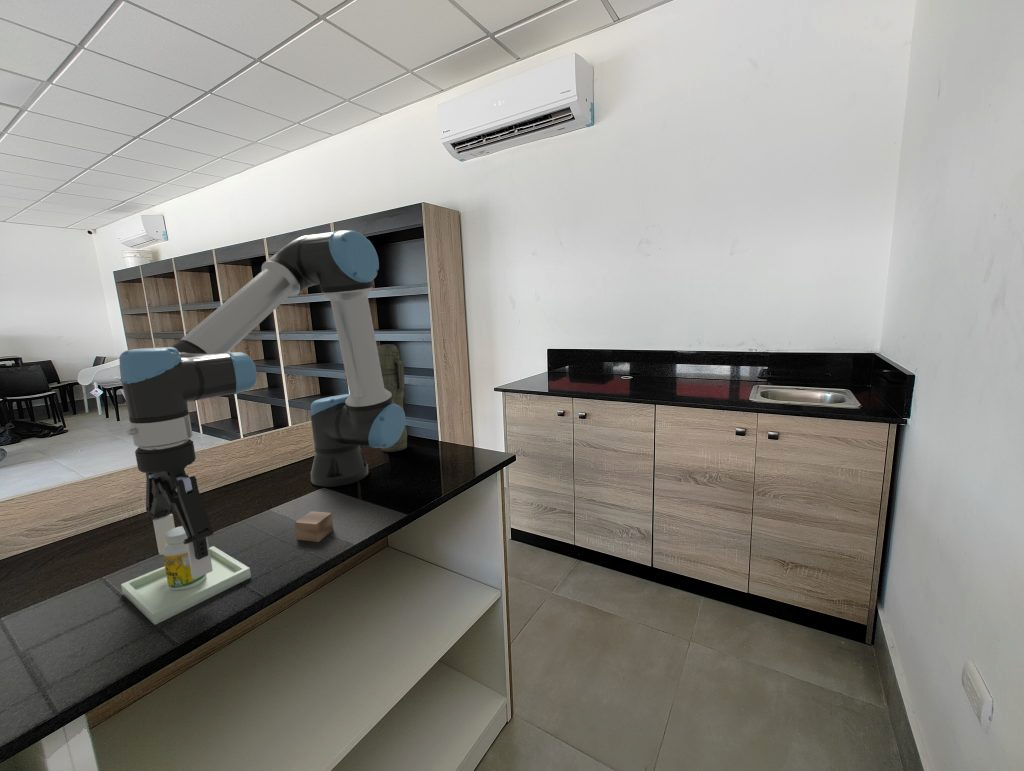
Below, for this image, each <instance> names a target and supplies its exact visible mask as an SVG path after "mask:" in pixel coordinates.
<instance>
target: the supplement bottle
mask: <svg viewBox="0 0 1024 771" xmlns="http://www.w3.org/2000/svg"><path fill="white" fill-rule="evenodd" d="M187 538H188V537H187V535H186V533H185V531H184V528H183V526H182V525H181V526H177V527H176V526H175V528H173V529H171V530H169V531H167V532H166V533H165V542H166V543H167V544H166V545H165V546H164V548H163V550H162V559H163V564H164V566H165V570H166V576H167V581H168V586H169V588H170V589H171V590H174V591H179V590H186V589H189V588H192V587H194V586H196V585H198V584H200V583H201V582H202V581H203V580H204V579H205V578H206V574H205V575H203V576H201V577H198V578H196V579H193V578H192V575H191V569H190V563H189V557H188V551H187V546H186V544H184V543H183V542H184V540H185V539H187Z"/></svg>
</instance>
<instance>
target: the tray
mask: <svg viewBox="0 0 1024 771" xmlns="http://www.w3.org/2000/svg"><path fill="white" fill-rule="evenodd" d="M209 550H210V557H211V563H212V569H213V571H212V572H209V573H207V574H206V578H205V579H204V580H203V581H202V582H201V583H200V584H198V585H196V586H194V587H192V588H189V589H186V590H179V591H174V590H171V589H170V588H169V586H168V581H167V576H166V570H165V565H164V566H162V567H159V568H157V569H154V570H152V571H149V572H146V573H144V574H142V575H139V576H138V577H136V578H133V579H130V580H128V581H126V582H122V583H121V584H120V586H121V591H122V594H123V596H124V597H125V598H127V600H128V601H129V602H131V603H132V604H133V605H134V606H135V607H136V608H137V609H138V610H139V611H140V613H142V614H143V615H144V616H145V617H146V618H147V619H148V620H149V621H150V622H151V623H152V624H153V625H154V626H155V625H158V624H160V623H162V622H163V621H166V620H169V619H170V618H172V617H174V616H176V615H178V614H180V613H182V612H185V611H186V610H188V609H190V608H192V607H194V606H196V605H199V604H200V603H202V602H204V601H206V600H208V599H210V598H213V597H214V596H216V595H218V594H220V593H222V592H225V591H226V590H228V589H230V588H232V587H235V586H237V585H238V584H241V583H242V582H243V583H244V581H247V580H248V579H251V578H252V575H251V569H250V567H249V566H247V565H246V564H244V563H242V562H241V561H239V560H237V559H236V558H234V557H233V556H230V555H229V554H227V553H226V552H224V551H223V550H221V549H219V548H217V547H216V546H215V545H213V546H209Z"/></svg>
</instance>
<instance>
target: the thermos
mask: <svg viewBox="0 0 1024 771" xmlns="http://www.w3.org/2000/svg"><path fill="white" fill-rule="evenodd" d="M377 350H378V356H379V361H380V367H381V372H382V378H383V383H384V388H385V389H386V390H388V391H389V392H391V394H392V399H393V404H397V405H399V406H400V407H401V408H402V409H403V410H404V401H403V400H404V397H405V391H404V390H406V384H405V366H404V362H403V361H402V359H400V353H399V349H398V347H397V345H395V344H394V343H393V344H391V343H389V344H388V343H385V344H379V345H377ZM407 441H408V433H407V426H406V425H405V427H404V430H403V432H402V434H401V437H400V438H399V440H398V441H397V442H396V443H395V444H394V445H392V446H391V447H388V448H380V450H381V451H383V452H388V453H394V452H399V451H403V450H405V449H407V448H408V442H407Z"/></svg>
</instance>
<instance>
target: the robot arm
mask: <svg viewBox="0 0 1024 771" xmlns="http://www.w3.org/2000/svg"><path fill="white" fill-rule="evenodd" d="M379 265H380V262H379V256H378V253H377V251H376V248H375V247H374V245H373V243H372V242H371V241H370V240H369V239H367V237H366V236H365V235H364V234H362V233H360V232H358V231H355V230H335V231H331V232H330V231H329V232H321V233H316V234H314V233H313V234H305V235H302V236H300V237H297V238H295V239H293V240H291V241H290V242H289V243H287V244H286V245H285V246H283V247H281V248H280V249H279V250H278V251H276V252H275V253H274V254H273V255H272V256H270V257H269V258H268V259H267V260H266V261H264V262H263V263H262V265H261V271H260V272H259V273H257V275H255V277H253V278H252V279H250V280H249V281H248V282H246V284H244V285H243V287H241V288H240V289H239V290H237V291H236V292H235V293H234V294H233V295H232V296H231V297H229V298H228V299H226V301H225V302H223V303H222V304H221V305H220V306H219V307H217V308H216V309H215V310H214V311H213V312H211V313H210V314H209V315H208V316H207V317H206V318H204V319H203V320H202V321H201V322H199V323H198V324H197V325H196V326H195V327H194V328H193V329H191V330H190V331H189V332H188V333H186V334H185V335H184V336H183V337H182V338H181V339H179V340H178V341H177V342H175V343H174V344H173V345H172V346H170V347H169V346H168V347H167V346H165V347H161V346H160V347H146V348H144V347H142V348H133V349H127V350H125V351H123V352H122V353H121V354H119V359H118V361H119V366H118V367H119V372H120V373H119V374H120V379H119V380H120V383H121V384H122V389H123V394H124V399H125V403H126V408H127V412H128V419H129V424H130V426H131V428H130V429H127V430H126V433H127V435H128V436H132V440H133V444H134V446H135V447H137V448H136V450H135V451H134V453H135V460H136V466H137V469H138V470H139V472H141V473H143V474H145V477H146V481H145V482H146V484H145V485H146V488H145V489H146V490H145V511H146V512H147V513H150V514H149V515H150V517H151V519H152V522H153V528H154V534H155V539H156V546H157V551H158V555H160V556H163V554H162V550H163V548H164V546H165V545H166V544H167V543H166V542H165V533H166V532H167V531H169V530H171V529H173V528H176V526H175V520H174V514H173V513H172V512H176V515H177V517H178V519H179V521H180V523H181V526H183V528H184V531H185V533H186V535H187V537H188V538H187V539H185V540H184V542H183V543H184V544H186V546H187V551H188V557H189V563H190V569H191V575H192V578H193V579H196V578H198V577H201V576H203V575H205V574H207V573H209V572H212V571H213V569H212V563H211V557H210V550H209V548H210V545H209V539H208V538H209V537H210V536H213V535H214V529H213V527H212V524H211V522H210V519H209V517H208V516H209V515H208V513H207V511H206V507H205V505H204V502H203V499H202V496H201V494H200V490H199V486H198V481H197V477H196V475H191V476H189V475H188V474H186V471H185V468H186V467H187V466H189V465H191V464H193V463H194V462H195V461H196V458H197V457H196V452H195V446H194V445H195V444H194V441H193V440H192V439H191V438H192V437H193V429H192V421H191V418H190V413H189V406H188V405H189V404H188V403H189V402H196V401H200V400H205V399H212V398H217V397H222V396H228V395H229V396H230V395H236V394H238V393H243V392H247V391H249V390H251V389H253V387H254V386H255V384H256V382H257V378H258V377H257V376H258V373H257V367H256V364H255V362H254V361H253V359H252V358H251V357H250V356H249V355H248V354H246V353H244V352H242V351H241V352H239V351H238V352H237V351H235V352H230V351H231V350H232V349H234V348H235V347H236V346H237V345H238V344H239V343H240V342H241V341H242V340H243V339H245V338H246V337H247V336H248V335H249V334H250V333H251V332H252V331H253V330H254V329H255V328H257V327H258V326H259V325H260V324H261V323H262V322H263V321H264V320H265V319H266V318H267V317H268V316H269V315H270V314H272V313H273V312H274V311H275V310H276V309H277V308H278V307H279V306H280V305H281V304H282V303H283V302H284V301H285V300H287V298H289V297H296V296H298V295H299V294H300V293H301V292H302V291H303V290H305V289H308V288H309V287H313V286H318V285H319V287H320V291H321V294H322V295H323V296H324V297H326V298H327V299H329V301H330V305H331V309H332V315H333V319H334V324H335V329H336V332H337V333H336V334H337V338H338V343H339V346H340V347H339V349H340V353H341V357H342V362H343V368H344V372H345V377H346V381H347V385H348V386H347V387H348V390H349V391H348V392H349V393H344V394H339V395H334V396H328V397H323V398H322V397H321V398H318V399H316V400H314V401H312V403H311V405H310V419H311V420H310V421H311V429H312V437H313V444H314V458H313V462H312V467H311V470H310V482H311V483H312V484H313V485H314V486H318V487H323V488H331V487H332V488H333V487H342V486H345V485H350V484H353V483H357V482H360V481H361V480H363V479H365V478H366V477H367V476H368V475H369V466H368V463H367V460H366V459H365V456H364V453H363V451H362V450H361V447H368V448H369V447H370V448H372V449H381V448H388V447H391V446H392V445H394V444H395V443H396V442H397V441H398V440H399V438H400V437H401V434H402V432H403V430H404V427H405V426H406V414H405V413H406V412H405V410H404V408H403V409H402V408H401V407H400V406H399V405H397V404H393V399H392V394H391V392H389V391H388V390H386V389H385V388H384V383H383V378H382V372H381V367H380V361H379V356H378V350H377V346H378V345H377V341H376V340H377V339H376V335H375V329H374V324H373V319H372V314H371V313H372V312H371V307H370V303H369V297H368V296H369V294H370V292H371V291H372V290H373V288H374V287H373V282H372V281H373V280H374V279H376V277H377V275H378V271H379V269H380V266H379Z"/></svg>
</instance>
